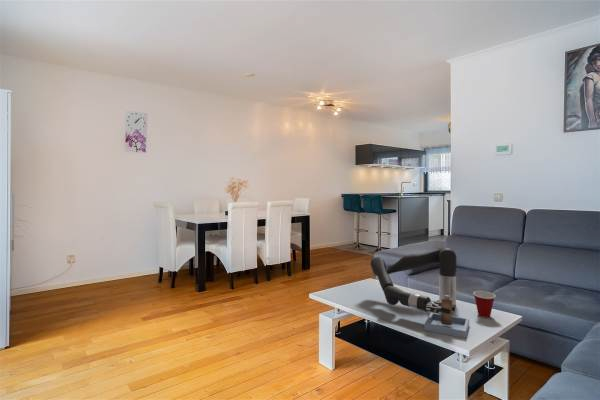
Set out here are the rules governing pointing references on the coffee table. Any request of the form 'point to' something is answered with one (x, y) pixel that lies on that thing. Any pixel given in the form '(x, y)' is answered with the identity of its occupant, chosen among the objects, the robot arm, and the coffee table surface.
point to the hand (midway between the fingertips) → (452, 310)
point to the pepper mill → (447, 304)
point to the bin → (456, 329)
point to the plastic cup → (484, 302)
